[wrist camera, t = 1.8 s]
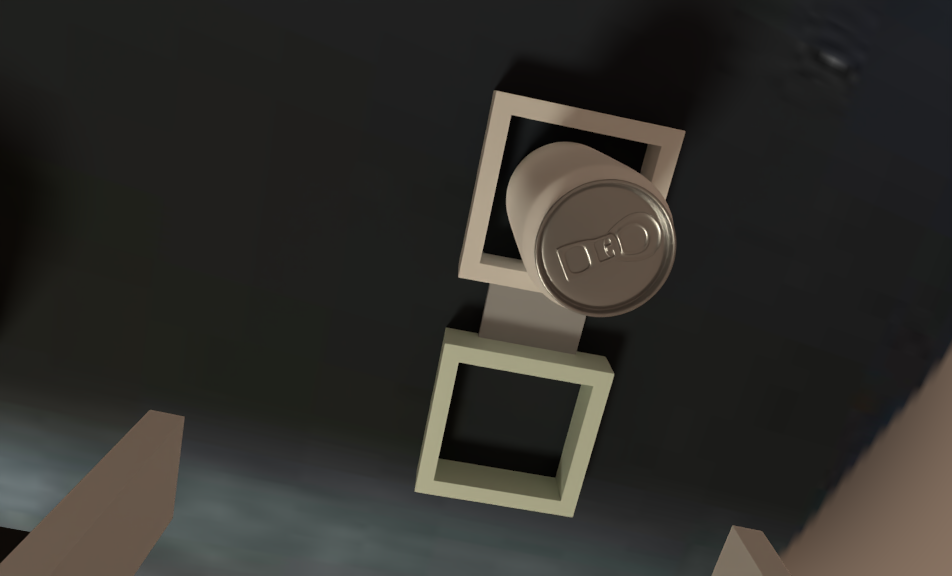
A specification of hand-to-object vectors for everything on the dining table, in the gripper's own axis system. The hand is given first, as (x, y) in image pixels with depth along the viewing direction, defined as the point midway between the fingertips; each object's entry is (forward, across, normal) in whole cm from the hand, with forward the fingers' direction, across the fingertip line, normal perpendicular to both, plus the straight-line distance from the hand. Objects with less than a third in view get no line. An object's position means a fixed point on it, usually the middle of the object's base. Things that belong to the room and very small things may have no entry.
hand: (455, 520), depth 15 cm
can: (+24, +5, +5) cm, 25 cm away
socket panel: (+24, +5, -2) cm, 24 cm away
